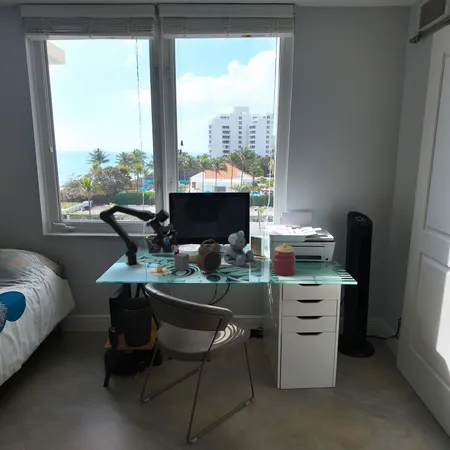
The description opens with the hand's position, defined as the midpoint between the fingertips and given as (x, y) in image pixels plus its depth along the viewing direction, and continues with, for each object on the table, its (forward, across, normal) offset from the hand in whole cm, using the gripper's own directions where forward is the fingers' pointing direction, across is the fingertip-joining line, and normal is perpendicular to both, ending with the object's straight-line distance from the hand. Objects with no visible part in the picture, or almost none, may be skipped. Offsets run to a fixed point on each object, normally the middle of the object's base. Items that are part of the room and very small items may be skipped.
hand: (172, 247), depth 210 cm
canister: (+52, +26, -34) cm, 67 cm away
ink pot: (+7, -10, +10) cm, 16 cm away
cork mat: (+8, -10, +10) cm, 17 cm away
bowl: (+9, +20, +10) cm, 23 cm away
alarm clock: (+26, +3, -8) cm, 27 cm away
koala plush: (+28, +30, -10) cm, 43 cm away
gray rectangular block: (+14, 0, +4) cm, 14 cm away
